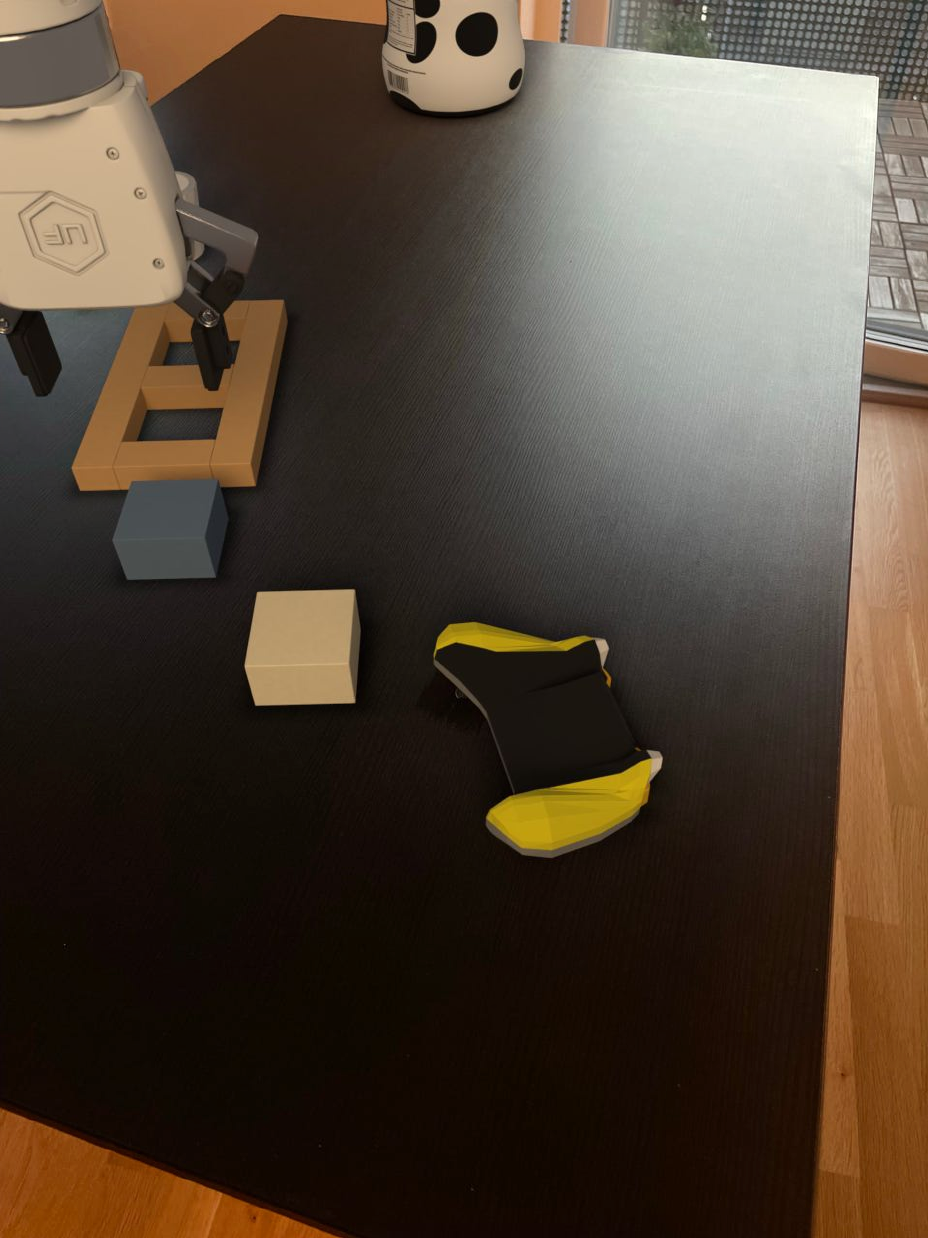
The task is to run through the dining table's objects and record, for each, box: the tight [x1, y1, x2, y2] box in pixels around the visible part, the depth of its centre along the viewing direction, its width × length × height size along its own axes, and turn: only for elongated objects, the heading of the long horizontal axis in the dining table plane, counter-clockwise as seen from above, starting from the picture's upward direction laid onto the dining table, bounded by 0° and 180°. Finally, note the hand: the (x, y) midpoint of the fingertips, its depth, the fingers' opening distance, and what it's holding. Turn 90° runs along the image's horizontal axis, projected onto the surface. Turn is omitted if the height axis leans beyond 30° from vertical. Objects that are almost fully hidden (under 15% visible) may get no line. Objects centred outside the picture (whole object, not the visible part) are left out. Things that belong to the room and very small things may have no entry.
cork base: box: [71, 299, 288, 492], centre depth 81 cm, size 13×23×2 cm, turn 1°
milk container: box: [381, 0, 526, 118], centre depth 118 cm, size 17×17×18 cm
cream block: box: [244, 588, 361, 707], centre depth 60 cm, size 6×6×4 cm
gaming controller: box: [433, 621, 664, 859], centre depth 55 cm, size 15×6×10 cm
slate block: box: [111, 479, 230, 581], centre depth 68 cm, size 6×6×4 cm
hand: (133, 380), depth 58 cm, fingers open, 9 cm apart
